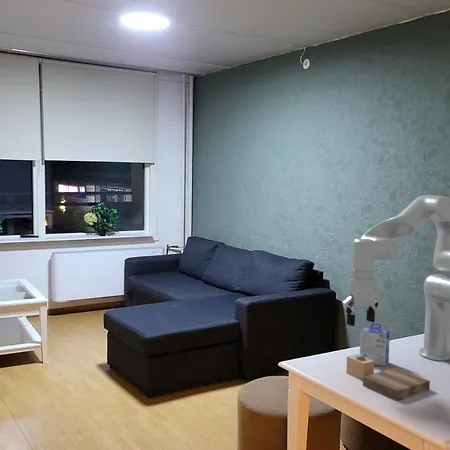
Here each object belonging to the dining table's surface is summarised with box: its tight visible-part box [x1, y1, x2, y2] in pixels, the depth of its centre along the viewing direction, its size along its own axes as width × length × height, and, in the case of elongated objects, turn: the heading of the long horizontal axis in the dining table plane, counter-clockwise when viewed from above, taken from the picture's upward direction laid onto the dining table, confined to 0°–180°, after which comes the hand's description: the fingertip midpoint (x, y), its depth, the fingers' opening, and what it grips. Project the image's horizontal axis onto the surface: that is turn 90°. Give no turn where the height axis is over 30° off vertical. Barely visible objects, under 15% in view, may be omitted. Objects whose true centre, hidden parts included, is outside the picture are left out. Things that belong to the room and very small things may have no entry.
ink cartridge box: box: [359, 322, 391, 367], centre depth 203 cm, size 10×6×14 cm, turn 62°
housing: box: [345, 353, 375, 381], centre depth 191 cm, size 5×8×7 cm, turn 33°
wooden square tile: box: [362, 367, 431, 401], centre depth 180 cm, size 16×14×3 cm
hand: (360, 323), depth 189 cm, fingers open, 9 cm apart
